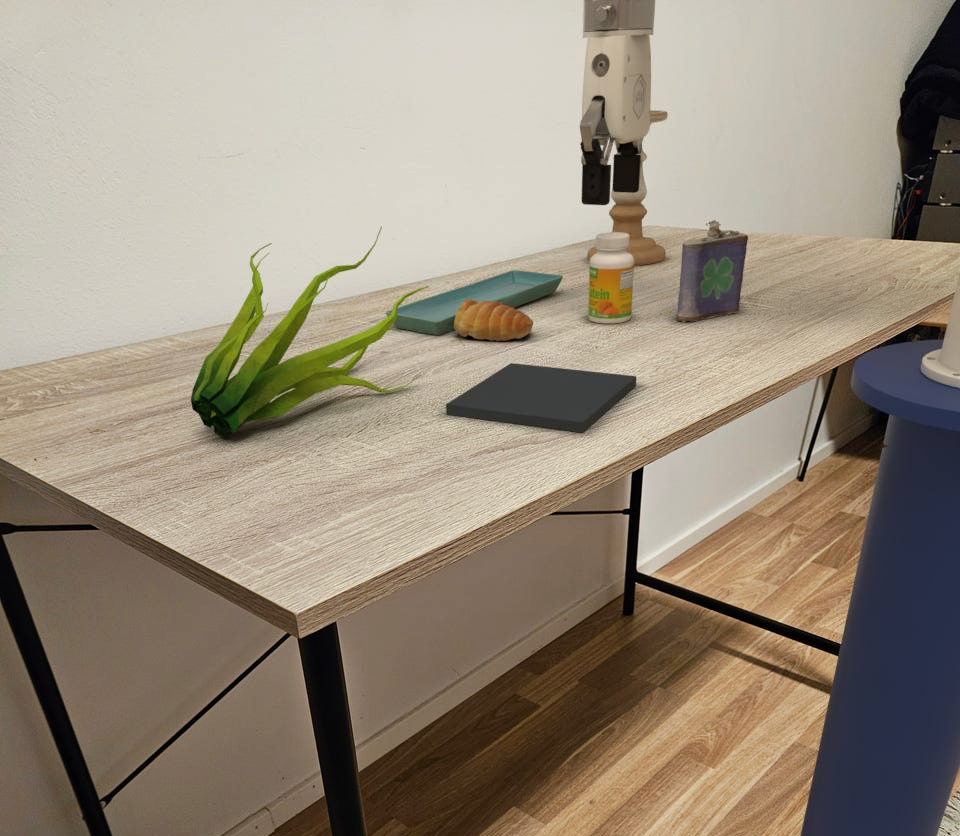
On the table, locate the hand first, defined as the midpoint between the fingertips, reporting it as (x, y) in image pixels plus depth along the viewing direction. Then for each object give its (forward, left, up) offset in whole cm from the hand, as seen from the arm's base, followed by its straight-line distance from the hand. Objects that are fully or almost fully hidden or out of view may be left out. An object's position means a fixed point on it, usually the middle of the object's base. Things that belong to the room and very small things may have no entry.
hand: (610, 198), depth 104 cm
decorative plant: (+18, +37, -14) cm, 43 cm away
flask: (-11, -5, -14) cm, 19 cm away
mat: (-5, +31, -14) cm, 34 cm away
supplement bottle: (0, 0, -14) cm, 14 cm away
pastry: (+11, +11, -14) cm, 21 cm away
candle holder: (+11, -36, -14) cm, 40 cm away
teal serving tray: (+18, +1, -14) cm, 23 cm away
